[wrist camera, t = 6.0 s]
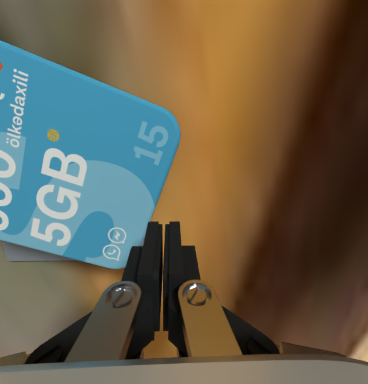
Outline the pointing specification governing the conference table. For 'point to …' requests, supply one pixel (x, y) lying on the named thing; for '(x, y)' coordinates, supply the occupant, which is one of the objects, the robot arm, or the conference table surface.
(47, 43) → the conference table surface
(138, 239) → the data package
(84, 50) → the conference table surface
